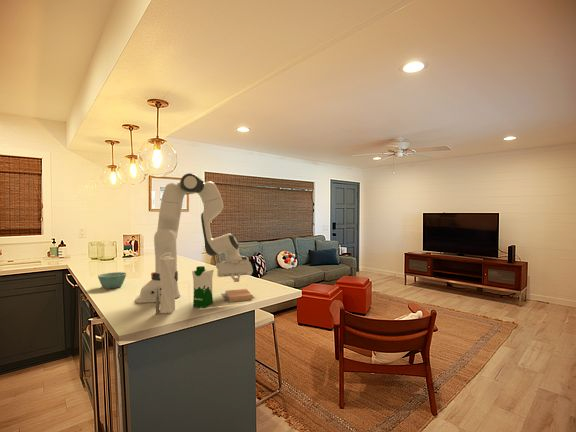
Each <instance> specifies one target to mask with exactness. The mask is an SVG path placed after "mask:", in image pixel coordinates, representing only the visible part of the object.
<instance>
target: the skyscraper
mask: <svg viewBox="0 0 576 432" xmlns="http://www.w3.org/2000/svg"><path fill="white" fill-rule="evenodd" d="M165 254H170V256H171V253H165ZM165 254H163V255H165ZM163 255H162V256H163ZM162 256H161V257H162ZM170 256H166V257H164V258H162V259H161V257H160V259H159V270H160V281H161V286H162V289H161V302H159V296H158V287H157V297H156V302H155V313H154V315H155V316H157V315H159V316H160V315H171V314H173V312H174V311H175V310H176V303H175V302H176V300H175V299H176V298H175V296H174V287H173V283H174V277H175V257H170ZM160 268H161V269H160Z"/></svg>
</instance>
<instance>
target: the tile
mask: <svg viewBox="0 0 576 432" xmlns="http://www.w3.org/2000/svg"><path fill="white" fill-rule="evenodd" d="M224 293H225V295H226V297H227V299H228V300H229V301H228V302H229V303H233V302H242V301H251V300H253V299H252V296H253V294H252V293H251V292H250V291H249V290H248V289H247V288H238V289H230V290H229V289H228V290H225V292H224Z"/></svg>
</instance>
